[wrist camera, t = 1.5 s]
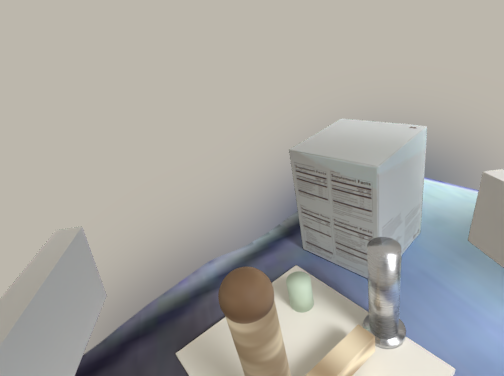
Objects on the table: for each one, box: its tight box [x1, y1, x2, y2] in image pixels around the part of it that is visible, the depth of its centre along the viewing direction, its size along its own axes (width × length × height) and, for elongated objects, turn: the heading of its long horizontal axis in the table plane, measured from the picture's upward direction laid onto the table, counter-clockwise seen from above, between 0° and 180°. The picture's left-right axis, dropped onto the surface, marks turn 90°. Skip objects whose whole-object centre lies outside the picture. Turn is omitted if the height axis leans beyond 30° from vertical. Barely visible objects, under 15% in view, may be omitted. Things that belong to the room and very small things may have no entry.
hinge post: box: [363, 237, 406, 349], centre depth 33 cm, size 4×4×12 cm
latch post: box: [286, 271, 314, 313], centre depth 41 cm, size 3×3×4 cm
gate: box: [219, 267, 375, 376], centre depth 27 cm, size 14×4×19 cm, turn 128°
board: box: [176, 265, 455, 376], centre depth 35 cm, size 20×22×1 cm
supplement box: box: [289, 119, 427, 279], centre depth 47 cm, size 13×13×18 cm
